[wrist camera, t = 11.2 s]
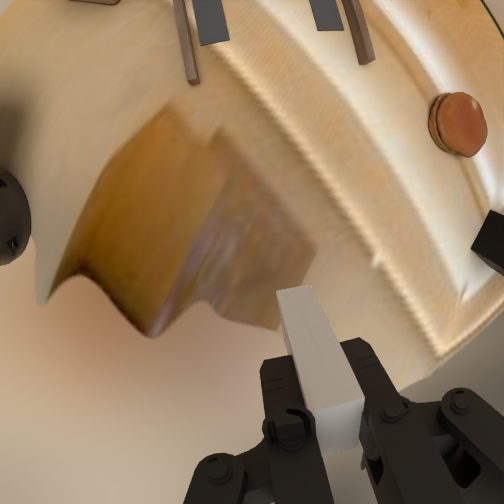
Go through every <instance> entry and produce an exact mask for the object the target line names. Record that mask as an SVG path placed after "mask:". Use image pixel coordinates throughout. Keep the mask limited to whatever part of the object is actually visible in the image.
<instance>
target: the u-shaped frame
mask: <svg viewBox="0 0 504 504" xmlns="http://www.w3.org/2000/svg"><path fill="white" fill-rule="evenodd" d="M173 2H174V8H175V14H176V20H177V26H178V32H179V37H180V43H181V48H182V54H183V59H184V65H185V70H186V75H187V81H188V82H189V83H190V84H191V85H196V84H200V82H199V77H198V72H197V67H196V62H195V57H194V51H193V46H192V41H191V35H190V30H189V25H188V19H187V14H186V8H185V3H184V0H173ZM342 3H343V6H344V9H345V13H346V16H347V19H348V23H349V26H350V30H351V34H352V37H353V41H354V45H355V49H356V53H357V57H358V61H359V64H368V63H370V62H372V61H373V60H375V55H374V51H373V47H372V43H371V39H370V35H369V32H368V28H367V25H366V21H365V18H364V15H363V11H362V8H361V5H360V2H359V0H342Z"/></svg>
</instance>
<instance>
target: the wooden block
mask: <svg viewBox="0 0 504 504" xmlns="http://www.w3.org/2000/svg"><path fill="white" fill-rule="evenodd" d="M79 1H89V2H97V3H105V4H115V3H116V2H117V1H118V0H79Z"/></svg>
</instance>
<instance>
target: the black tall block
mask: <svg viewBox="0 0 504 504" xmlns="http://www.w3.org/2000/svg"><path fill="white" fill-rule="evenodd" d="M471 250H473V251H474V252H475V253H476V254H477V255H478V256H479V257H480V258H481V259H482V260H483V261H484V262H485V263H486V264H487V265H489V266H490V267H491V268H492V269H494V270H495V271H497V272H498V273H500V274H501V275H503V276H504V215H502V214H499V213H497V212H495V211H492V210H490V212H489V214H488V216H487V218H486V220H485V223H484V225H483V227H482V228H481V230H480V232H479V234H478V236H477V238H476V240H475V242H474V244H473V246H472V247H471Z"/></svg>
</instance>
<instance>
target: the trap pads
mask: <svg viewBox="0 0 504 504" xmlns="http://www.w3.org/2000/svg"><path fill="white" fill-rule="evenodd" d="M309 1H310V4H311V8H312V11H313V15H314V18H315V22H316V26H317V29H318V31H332V30H344V28H343V24H342V21H341V17H340V14H339V11H338V7H337V4H336V1H335V0H309ZM192 2H193V8H194V13H195V18H196V23H197V28H198V34H199V39H200V44H201V46H203V45H207V44H212V43H217V42H222V41H228V40H230V39H229V34H228V29H227V25H226V20H225V16H224V11H223V7H222V2H221V0H192Z"/></svg>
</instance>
